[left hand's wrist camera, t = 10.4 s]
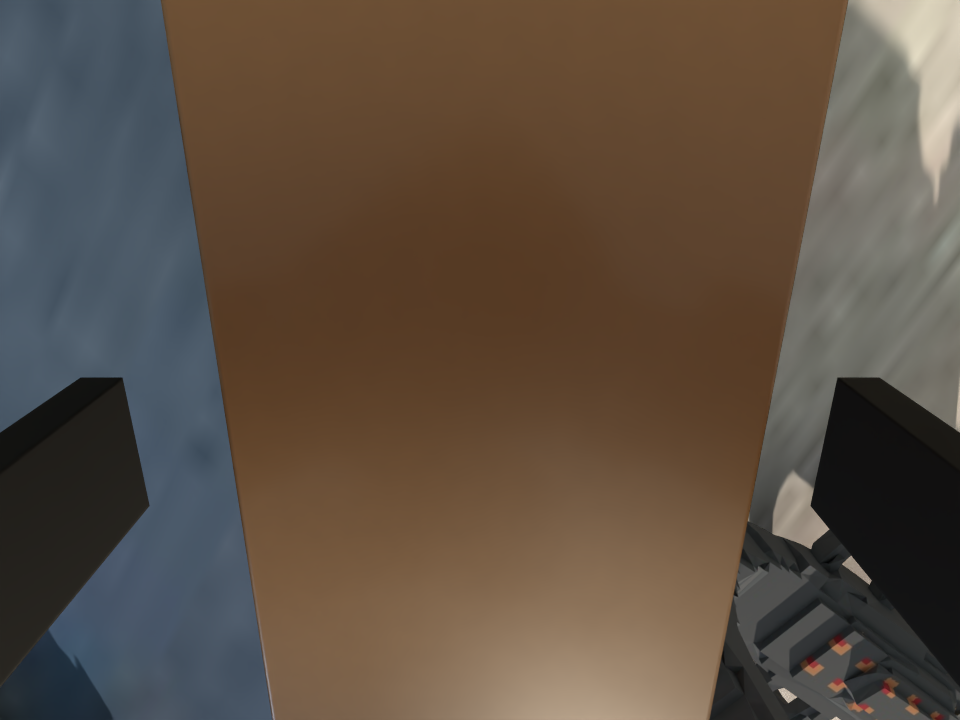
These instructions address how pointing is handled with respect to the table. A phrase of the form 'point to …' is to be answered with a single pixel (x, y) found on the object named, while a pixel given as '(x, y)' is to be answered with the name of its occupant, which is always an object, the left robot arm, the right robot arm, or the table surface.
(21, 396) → the table surface
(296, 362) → the bar
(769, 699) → the toy
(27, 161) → the table surface
